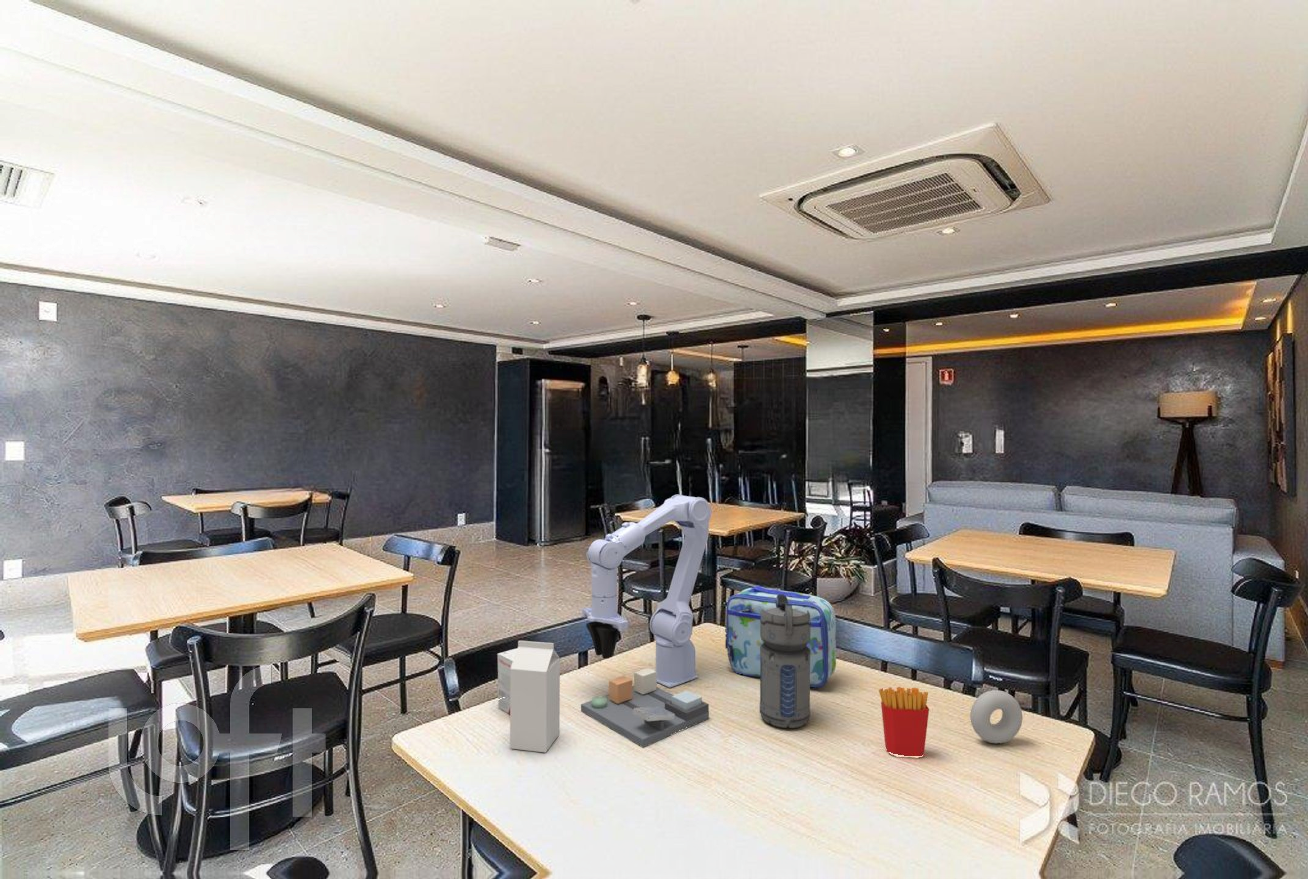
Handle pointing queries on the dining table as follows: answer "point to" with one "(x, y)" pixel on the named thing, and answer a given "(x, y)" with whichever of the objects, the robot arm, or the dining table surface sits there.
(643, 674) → the ivory slider
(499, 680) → the ink box
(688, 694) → the grey button
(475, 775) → the dining table surface
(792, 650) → the beverage bottle
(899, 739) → the french fries
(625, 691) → the terracotta slider
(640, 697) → the control board
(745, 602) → the lunch box
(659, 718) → the aluminium rocker
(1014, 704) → the donut
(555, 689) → the milk carton
